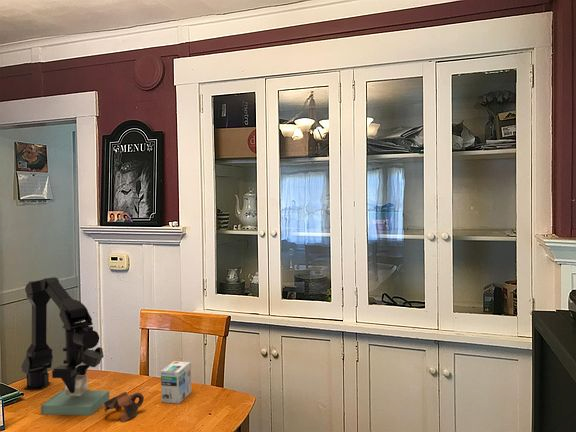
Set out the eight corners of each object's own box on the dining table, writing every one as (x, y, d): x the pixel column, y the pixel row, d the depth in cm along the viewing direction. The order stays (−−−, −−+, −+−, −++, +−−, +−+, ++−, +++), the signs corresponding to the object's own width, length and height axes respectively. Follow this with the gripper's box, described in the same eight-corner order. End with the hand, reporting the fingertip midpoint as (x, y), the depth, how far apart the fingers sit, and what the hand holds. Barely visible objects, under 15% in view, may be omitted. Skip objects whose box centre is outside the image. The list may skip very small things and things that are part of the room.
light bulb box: (179, 404, 163) (178, 372, 163) (160, 402, 165) (159, 371, 164) (192, 391, 174) (191, 361, 173) (174, 390, 175) (173, 360, 175)
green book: (41, 415, 157) (41, 405, 157) (63, 398, 170) (63, 389, 170) (90, 416, 156) (90, 406, 156) (109, 399, 169) (109, 390, 169)
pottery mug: (114, 427, 148) (103, 402, 150) (109, 430, 156) (99, 405, 157) (151, 407, 155) (140, 383, 157) (145, 410, 163) (135, 387, 164)
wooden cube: (80, 395, 160) (79, 380, 160) (65, 395, 161) (64, 380, 161) (87, 389, 165) (87, 375, 165) (73, 389, 166) (72, 374, 166)
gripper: (84, 352, 152) (85, 401, 153) (111, 335, 171) (112, 379, 171) (50, 351, 153) (51, 401, 154) (80, 335, 172) (82, 379, 173)
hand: (76, 389), depth 163 cm, fingers closed on wooden cube, 5 cm apart
